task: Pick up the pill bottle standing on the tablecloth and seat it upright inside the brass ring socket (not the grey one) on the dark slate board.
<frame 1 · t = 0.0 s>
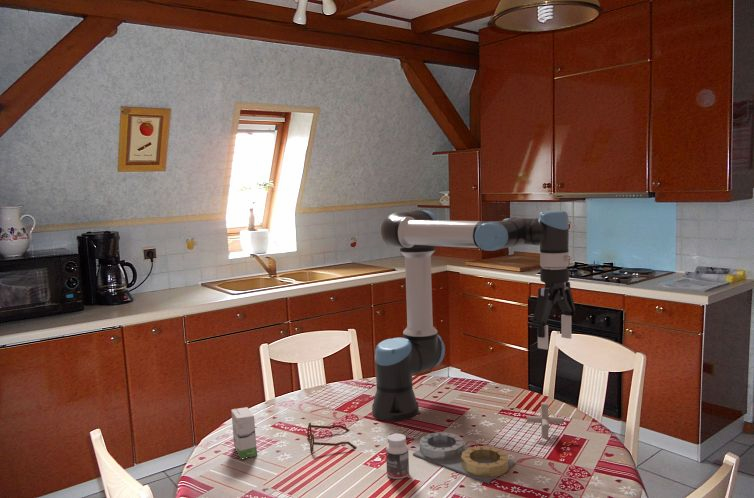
hand: (555, 343, 164), 28 cm above the table, fingers open, 13 cm apart
grey socket: (441, 451, 163), resting on slate board
slate board: (462, 459, 158), on the table
pipe connector: (544, 437, 169), on the table
pill bottle: (398, 475, 151), on the table
glasses: (331, 443, 172), on the table
ink box: (245, 453, 167), on the table
brass socket: (485, 467, 153), resting on slate board
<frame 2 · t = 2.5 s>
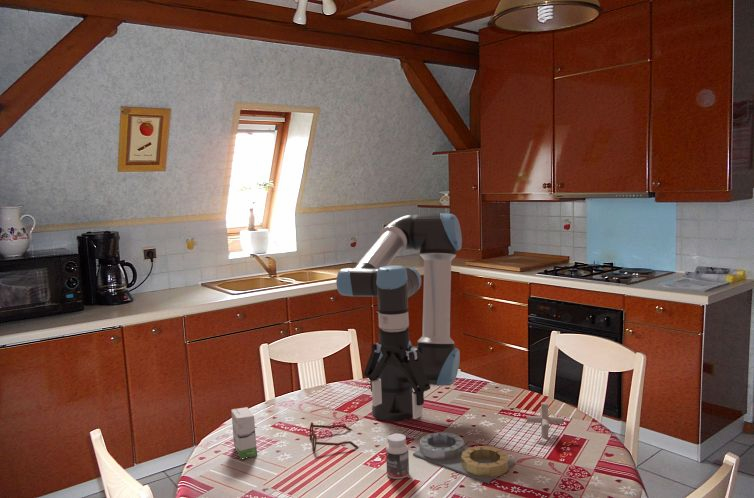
hand: (396, 410, 149), 17 cm above the table, fingers open, 13 cm apart
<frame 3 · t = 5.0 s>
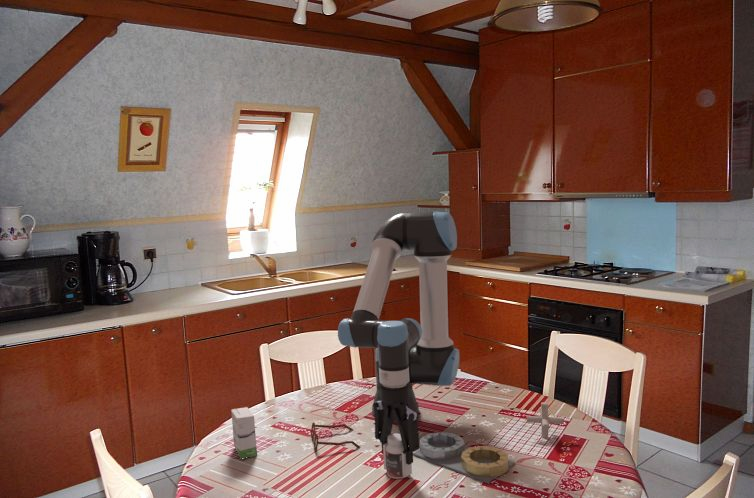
hand: (397, 470, 151), 1 cm above the table, fingers closed on pill bottle, 6 cm apart
pill bottle: (398, 475, 151), on the table, touching gripper
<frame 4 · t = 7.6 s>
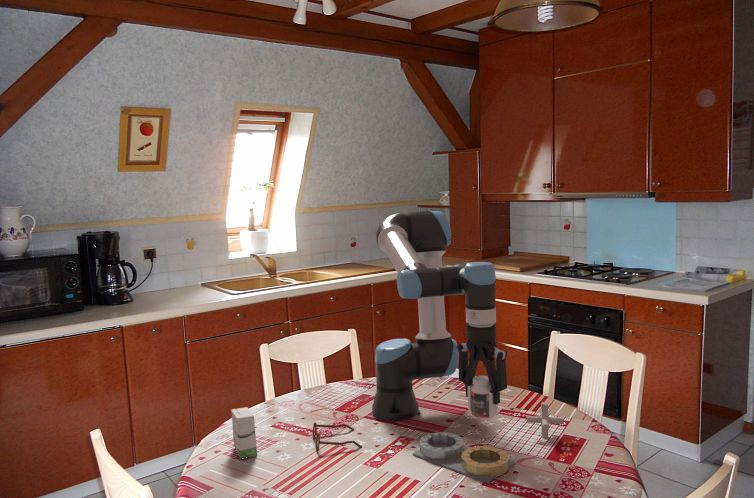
hand: (482, 412, 151), 15 cm above the table, fingers closed on pill bottle, 6 cm apart
pill bottle: (482, 416, 151), point 14 cm above the table, touching gripper
when the fingers open (4 cm above the table, at t = 10.2 s): pill bottle drops 3 cm, resting on slate board.
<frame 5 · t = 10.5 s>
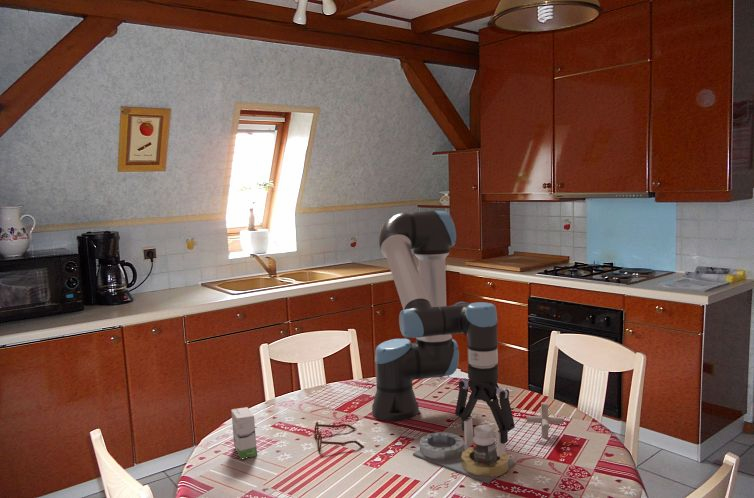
hand: (484, 448, 152), 5 cm above the table, fingers open, 9 cm apart
pill bottle: (485, 465, 153), resting on slate board
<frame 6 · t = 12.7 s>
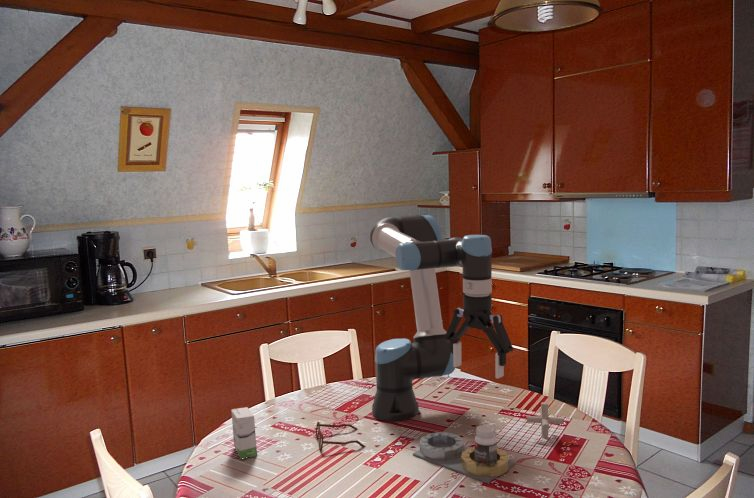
hand: (477, 371, 159), 23 cm above the table, fingers open, 13 cm apart
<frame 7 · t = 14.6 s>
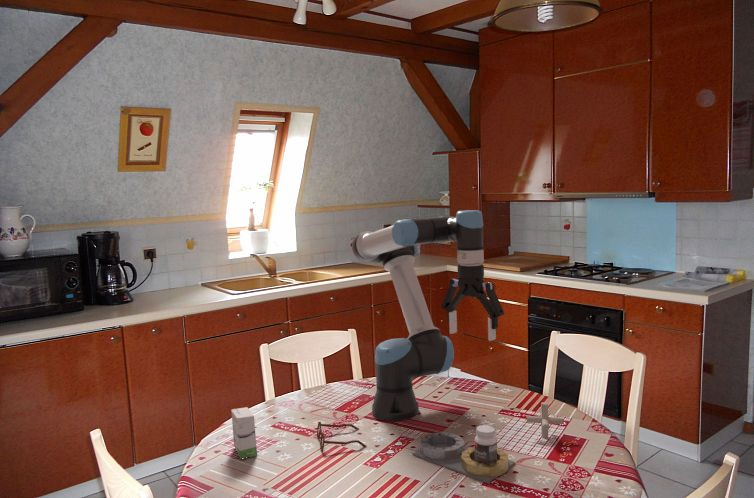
hand: (472, 336, 172), 29 cm above the table, fingers open, 13 cm apart
at the end: pill bottle inside the target area (0.2 cm from its centre), resting on slate board; pill bottle tilted 1°; the gripper is holding nothing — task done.
